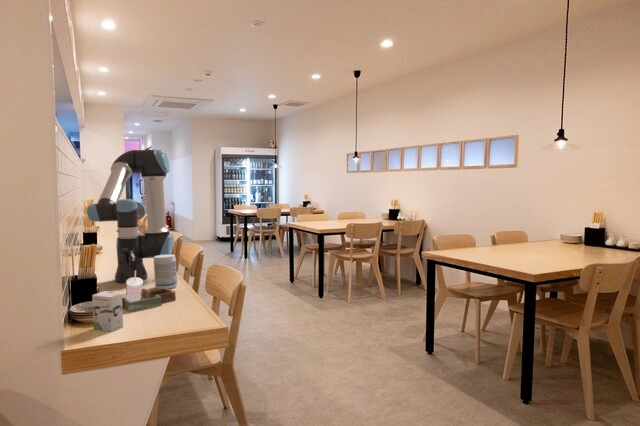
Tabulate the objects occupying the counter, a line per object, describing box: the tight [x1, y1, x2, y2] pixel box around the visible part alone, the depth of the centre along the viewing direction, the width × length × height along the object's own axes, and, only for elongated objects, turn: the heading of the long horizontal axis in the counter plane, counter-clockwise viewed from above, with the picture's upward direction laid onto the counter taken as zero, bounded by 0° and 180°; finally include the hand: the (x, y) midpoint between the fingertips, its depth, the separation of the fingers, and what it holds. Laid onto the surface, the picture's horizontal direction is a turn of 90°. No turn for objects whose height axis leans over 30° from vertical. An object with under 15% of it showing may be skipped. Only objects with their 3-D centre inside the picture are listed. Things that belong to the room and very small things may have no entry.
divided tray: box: [122, 288, 177, 313], centre depth 172 cm, size 19×26×4 cm
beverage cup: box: [125, 270, 144, 302], centre depth 172 cm, size 6×6×14 cm
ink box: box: [92, 290, 124, 333], centre depth 143 cm, size 9×5×12 cm, turn 69°
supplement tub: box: [153, 253, 178, 290], centre depth 198 cm, size 10×10×15 cm
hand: (130, 294), depth 177 cm, fingers closed
